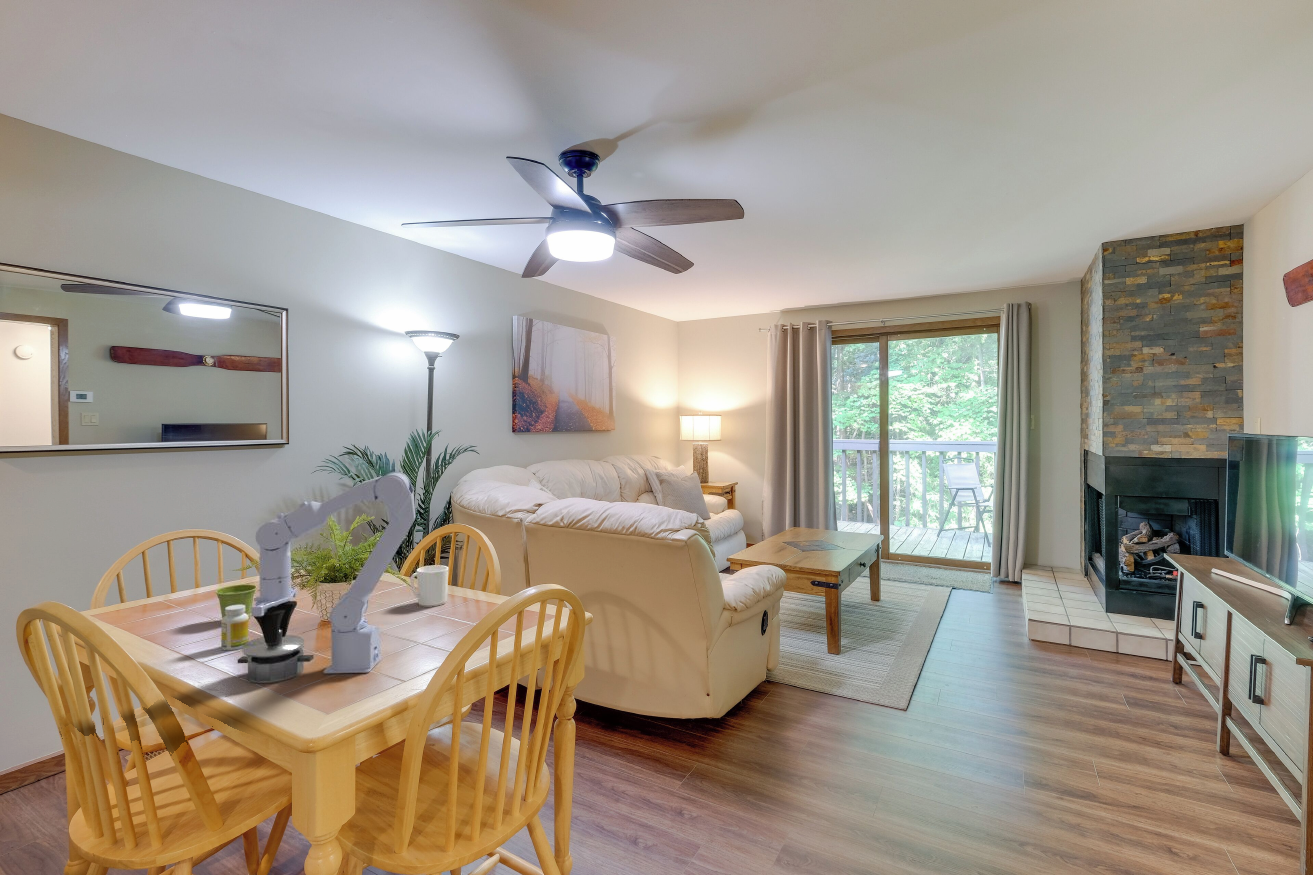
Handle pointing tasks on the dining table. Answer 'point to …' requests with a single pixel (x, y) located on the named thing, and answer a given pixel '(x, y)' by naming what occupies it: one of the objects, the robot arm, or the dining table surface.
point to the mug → (431, 585)
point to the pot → (275, 667)
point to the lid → (273, 646)
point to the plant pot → (236, 597)
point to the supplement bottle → (234, 628)
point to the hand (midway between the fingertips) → (275, 639)
